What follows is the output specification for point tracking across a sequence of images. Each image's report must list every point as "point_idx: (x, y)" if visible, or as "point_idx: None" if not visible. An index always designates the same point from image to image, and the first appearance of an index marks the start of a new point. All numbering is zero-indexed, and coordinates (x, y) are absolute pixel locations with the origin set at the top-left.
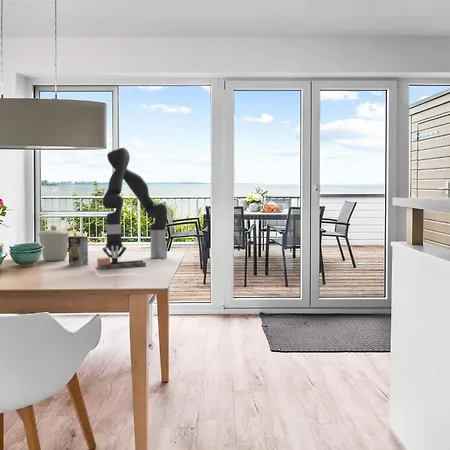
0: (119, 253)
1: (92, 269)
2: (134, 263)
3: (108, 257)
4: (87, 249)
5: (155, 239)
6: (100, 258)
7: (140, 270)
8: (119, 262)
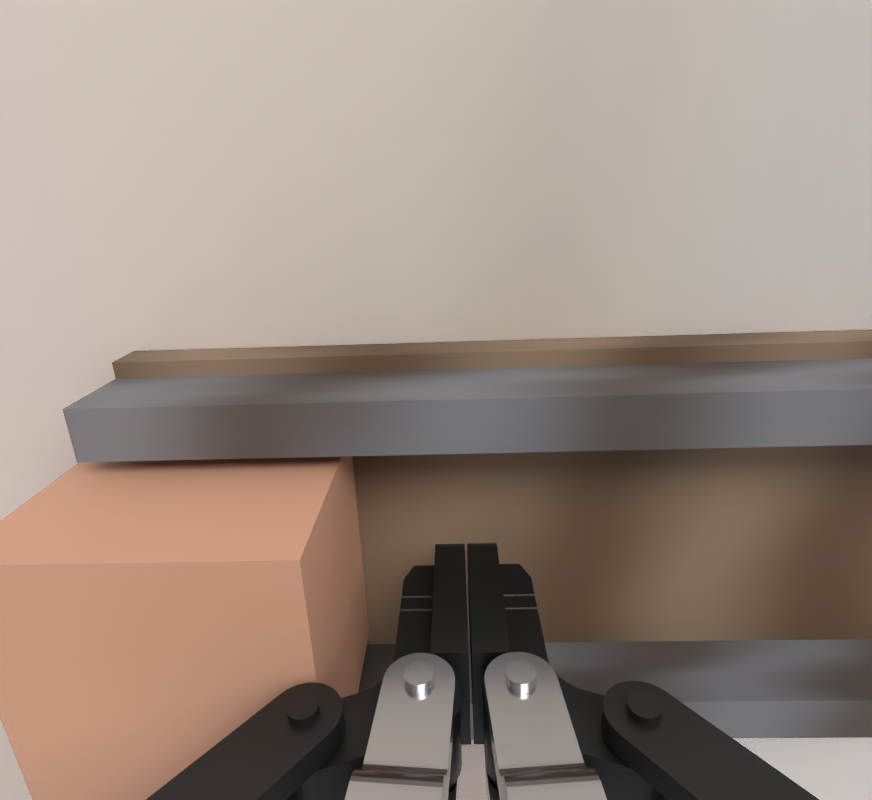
0: (671, 791)
1: (33, 428)
2: (862, 734)
3: (293, 600)
4: None
5: None
6: (66, 695)
7: (828, 782)
8: (608, 445)
